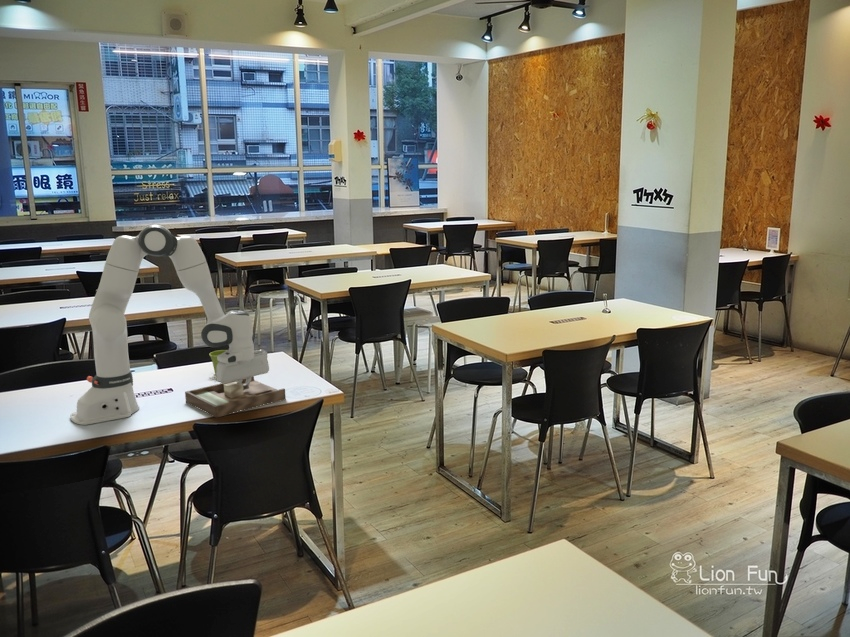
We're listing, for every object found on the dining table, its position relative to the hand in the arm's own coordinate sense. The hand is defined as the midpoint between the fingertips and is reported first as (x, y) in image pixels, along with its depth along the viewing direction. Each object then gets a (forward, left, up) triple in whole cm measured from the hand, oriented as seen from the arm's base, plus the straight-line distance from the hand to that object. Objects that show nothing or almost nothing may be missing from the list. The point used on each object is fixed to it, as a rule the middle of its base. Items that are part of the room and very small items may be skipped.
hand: (244, 389), depth 272 cm
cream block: (-5, 0, -1) cm, 5 cm away
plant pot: (+10, +38, -4) cm, 39 cm away
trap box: (-4, 0, -4) cm, 5 cm away
